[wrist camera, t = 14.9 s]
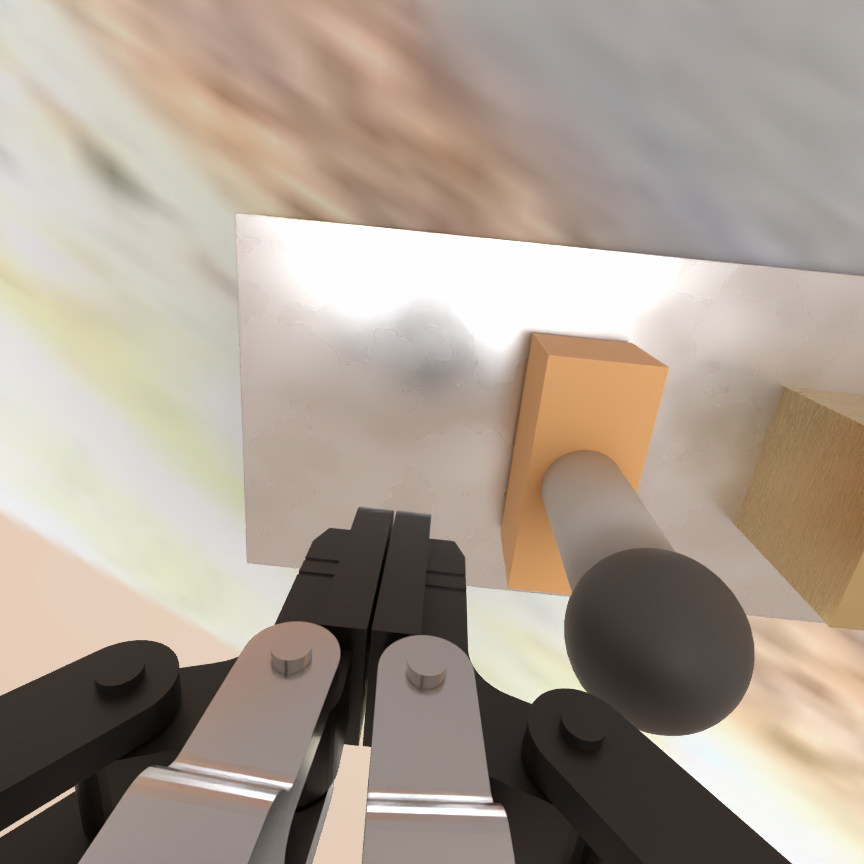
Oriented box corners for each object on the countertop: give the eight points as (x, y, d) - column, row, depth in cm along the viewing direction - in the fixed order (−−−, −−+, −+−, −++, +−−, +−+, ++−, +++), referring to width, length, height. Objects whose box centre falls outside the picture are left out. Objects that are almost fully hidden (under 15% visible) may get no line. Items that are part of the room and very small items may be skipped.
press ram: (500, 534, 19) (546, 852, 9) (532, 332, 16) (641, 485, 7) (586, 542, 19) (721, 871, 9) (632, 342, 16) (883, 509, 7)
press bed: (264, 533, 22) (198, 640, 16) (258, 214, 18) (166, 209, 12) (1009, 611, 22) (1202, 745, 16) (1187, 308, 17) (1535, 347, 12)
